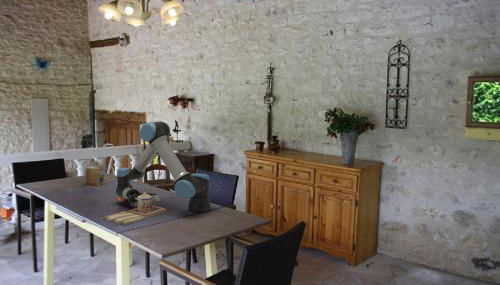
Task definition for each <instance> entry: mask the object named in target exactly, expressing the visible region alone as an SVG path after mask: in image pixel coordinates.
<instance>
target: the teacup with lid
mask: <svg viewBox="0 0 500 285" xmlns="http://www.w3.org/2000/svg"><path fill="white" fill-rule="evenodd" d="M142 193H143V194H142V195H140V196H138V197H137V198H138V199H141V200H142V204H138V203H137V208H138V212H140V213H144V214H145V213H149V212H152V211H153V210H152V206H155V205H156V203H157V200H156V199H154V198H153V197H152V196H151V195H148V194H147V193H148V192H146V191H144V192H142Z"/></svg>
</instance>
